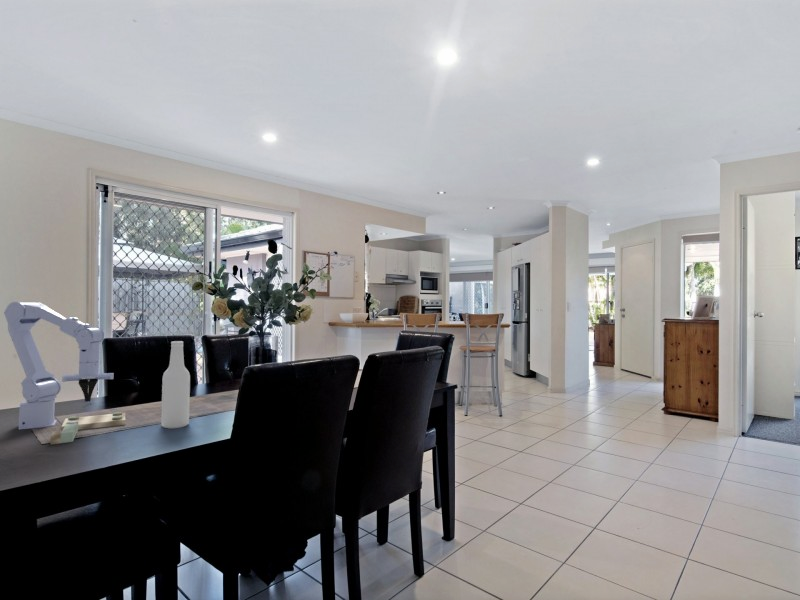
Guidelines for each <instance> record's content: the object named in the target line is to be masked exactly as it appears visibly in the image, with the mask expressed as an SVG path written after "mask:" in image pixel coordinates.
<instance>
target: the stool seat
mask: <svg viewBox="0 0 800 600" xmlns="http://www.w3.org/2000/svg"><path fill="white" fill-rule="evenodd" d="M70 421H78V431H79V430H89V429H97V428H100V429H101V428H106V427H116V426H117V427H118V426H124V425H126V422H127V421H126V412H122V411H120V412H119V411H117V412H113V413H108V414H100V415H99V414H98V415H97V414H96V415H88V416H69V417H68V418H67V417H65V419H64V421H63V423H62V425H61V428H60V430H53V431H52V433H51V434H50V443H49V444H50V445H51V446H52V445H58V444H60V445H61V444H62V443H61V432H62V430H63V429H64V427H65V425H66V423H67V422H70Z"/></svg>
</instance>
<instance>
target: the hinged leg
mask: <svg viewBox="0 0 800 600" xmlns="http://www.w3.org/2000/svg"><path fill="white" fill-rule="evenodd" d="M78 432H79V430H78V421H70V422H67V423H66V425H65V427H64V429H63V430H62V432H61V443H60V444H66V443H72V442H74V440H75V439H76V435H77V433H78Z"/></svg>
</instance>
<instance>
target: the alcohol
mask: <svg viewBox="0 0 800 600" xmlns="http://www.w3.org/2000/svg"><path fill="white" fill-rule="evenodd" d="M170 344H171V345H170V347H171V349H170V355H169V364H168V367H167V369H166V370H165V371H164V372H163V375H162V380H161V381H162V384H161V388H162V389H161V393H162V394H161V419H160V421H161V423H160V424H161V427H162V428H166V429H170V430H171V429H172V430H173V429H181V428H184V427H187V425H188V424H189V423H190V403H191V402H190V396H191V395H190V393H191V374H190V372H189V370H188V368H187V367H186V366H185V359H184V357H185V355H184V347H185V346H184V341H182V340H174V341H171V342H170Z"/></svg>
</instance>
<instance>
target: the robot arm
mask: <svg viewBox="0 0 800 600" xmlns="http://www.w3.org/2000/svg"><path fill="white" fill-rule="evenodd" d="M3 314H4V317H5V320H6V322H7V329H8V330H7V331H8V333H9V336H10V339H11V341H12V344H13V346H14V349H15V351H16V353H17V356H18V359H19V361H20V364H21V366H22V367H21V368H22V369H23V372H24V374H25V376H26V377H25V378H24V379H23V380H22V381H21V383H20V384H21V388H22V392H21V393H22V397H23V398H24V399H25V400H26V401H21V402H20V404H19V412H18V430H26V429H35V428H36V429H37V428H44V427H45V428H46V427H54V426H55V425H56V423H57V421H58V420H57V419H55V411H56V410H55V407H56V405H55V404H56V401H55V400H56V398H57V396H58V395H59V393H61V389H62V386H61V383H60V381H59V380H57V378H56V377H55V374H54V373H51V372H50V371H48V370H46V368H45V367H46V366H45V365H44V362H43V360H42V356H41V355H40V352H39V350H38V348H37V345H36V342H35V340H34V337H33V334H32V332H31V329H32V328H33V327H34V326H36V325H37V323H38V322H40V321H41V320H43V321H46V322H49V323H51V324H53V325H55V326H58V327H59V330H60V331H61V333H64V334H66V335H68V336H70V337H72V338H73V339H75V341H76V343H77V345H78V349H79V352H78V353H79V355H78V357H79V359H78V362H79V363H78V373H77V374H68V375H67V374H65V375H62V377H61V382H63V383H65V382H77V381H78V385H79V387H80V388H81V391H82V393H83V396H84V401H85V402H86V403H87V402H91V400H92V399H91V398H92V395H93V392H94V390H95V387H96V386H97V383H98V382H99V380H114V372H108V373H107V372H103V373H102V372H100V353H101V352H100V351H101V349H100V348H101V345H100V344H101V342H103V340H104V339H105V332H104V331H103V330H102V328H100V327H98V326H94V327H92V326H91V324H90V323H84V322H82V321H80V320H79V319H80V318H78V317H76V316H75V317H74V316H73V317H64V316H63V315H62V314H60V313H59V312H56V311H54V310H53V309H51V308H50V307H48V305H46V304H43V303H41V302H40V301H35V302H34V301H33V302H25V301H12V302H10V303H9V304H8V305H7V306H6V309H5V310H4V311H3Z"/></svg>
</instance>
